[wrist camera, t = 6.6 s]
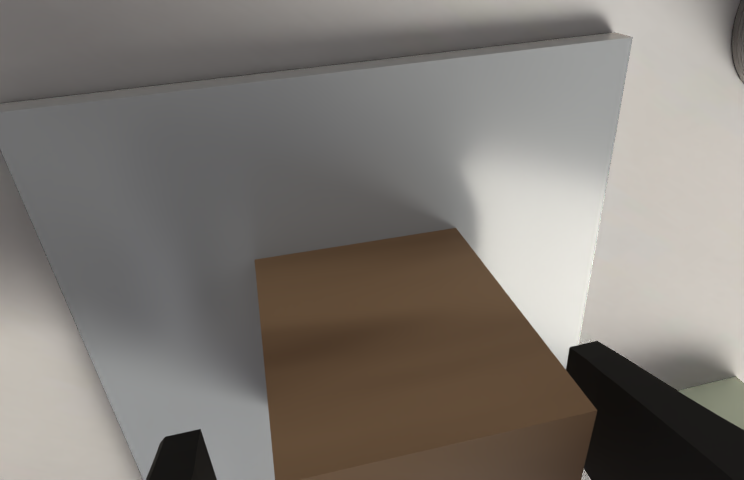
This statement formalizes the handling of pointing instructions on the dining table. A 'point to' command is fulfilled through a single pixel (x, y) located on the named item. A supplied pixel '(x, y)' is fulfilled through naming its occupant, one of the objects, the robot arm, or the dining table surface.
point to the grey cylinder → (739, 41)
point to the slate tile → (305, 207)
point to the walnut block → (411, 369)
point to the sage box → (721, 398)
